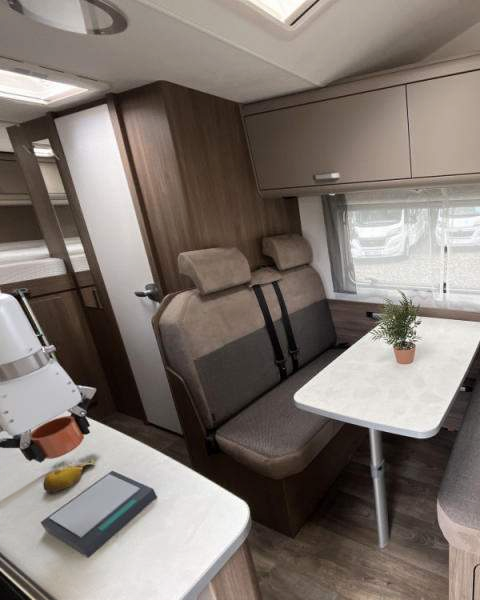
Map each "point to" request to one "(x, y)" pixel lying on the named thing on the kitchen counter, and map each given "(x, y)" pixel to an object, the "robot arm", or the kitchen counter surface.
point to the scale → (99, 512)
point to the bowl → (57, 437)
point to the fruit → (63, 477)
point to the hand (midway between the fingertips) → (62, 444)
